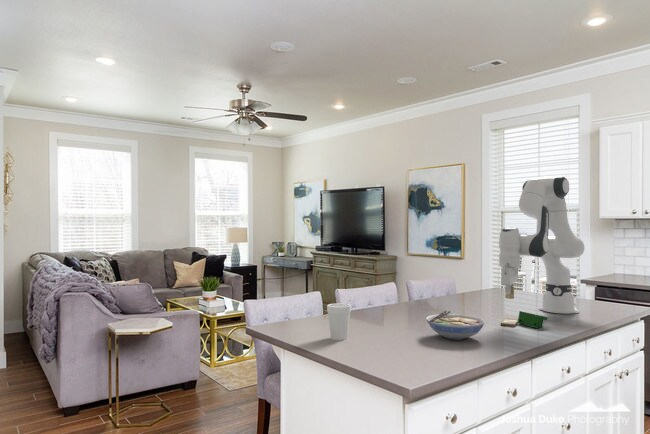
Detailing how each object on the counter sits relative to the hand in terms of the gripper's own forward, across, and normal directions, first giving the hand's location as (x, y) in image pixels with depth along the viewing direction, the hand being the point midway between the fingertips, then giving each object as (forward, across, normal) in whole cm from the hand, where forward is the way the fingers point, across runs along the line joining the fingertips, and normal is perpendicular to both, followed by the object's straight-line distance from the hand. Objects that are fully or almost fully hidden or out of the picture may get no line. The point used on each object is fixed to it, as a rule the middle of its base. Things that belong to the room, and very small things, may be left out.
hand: (509, 293), depth 210 cm
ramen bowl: (+14, -39, +14) cm, 44 cm away
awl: (+2, 0, 0) cm, 2 cm away
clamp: (+14, +2, -10) cm, 17 cm away
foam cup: (+14, -64, +53) cm, 84 cm away
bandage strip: (+14, +1, 0) cm, 14 cm away
